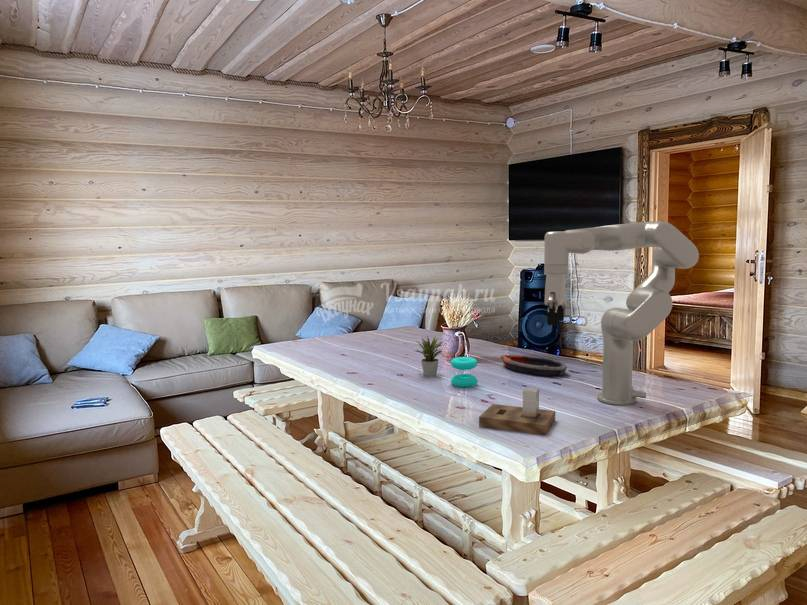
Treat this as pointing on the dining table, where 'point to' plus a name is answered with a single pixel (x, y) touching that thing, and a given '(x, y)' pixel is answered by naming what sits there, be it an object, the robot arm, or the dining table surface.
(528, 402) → the steel square peg
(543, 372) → the dish
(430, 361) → the house plant
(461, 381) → the donuts
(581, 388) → the dining table surface
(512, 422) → the walnut bore plate
